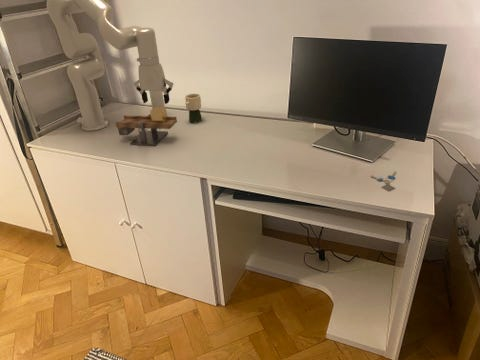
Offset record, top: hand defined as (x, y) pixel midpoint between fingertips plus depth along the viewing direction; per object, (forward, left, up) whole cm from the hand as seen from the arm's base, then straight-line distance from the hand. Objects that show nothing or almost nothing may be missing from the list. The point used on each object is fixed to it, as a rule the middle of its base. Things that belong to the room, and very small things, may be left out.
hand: (156, 102), depth 157 cm
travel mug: (-13, +28, -17) cm, 35 cm away
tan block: (0, 0, -9) cm, 9 cm away
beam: (-6, 0, -14) cm, 15 cm away
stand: (-6, 0, -17) cm, 18 cm away
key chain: (+91, -24, -18) cm, 95 cm away
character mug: (+8, +23, -17) cm, 30 cm away
